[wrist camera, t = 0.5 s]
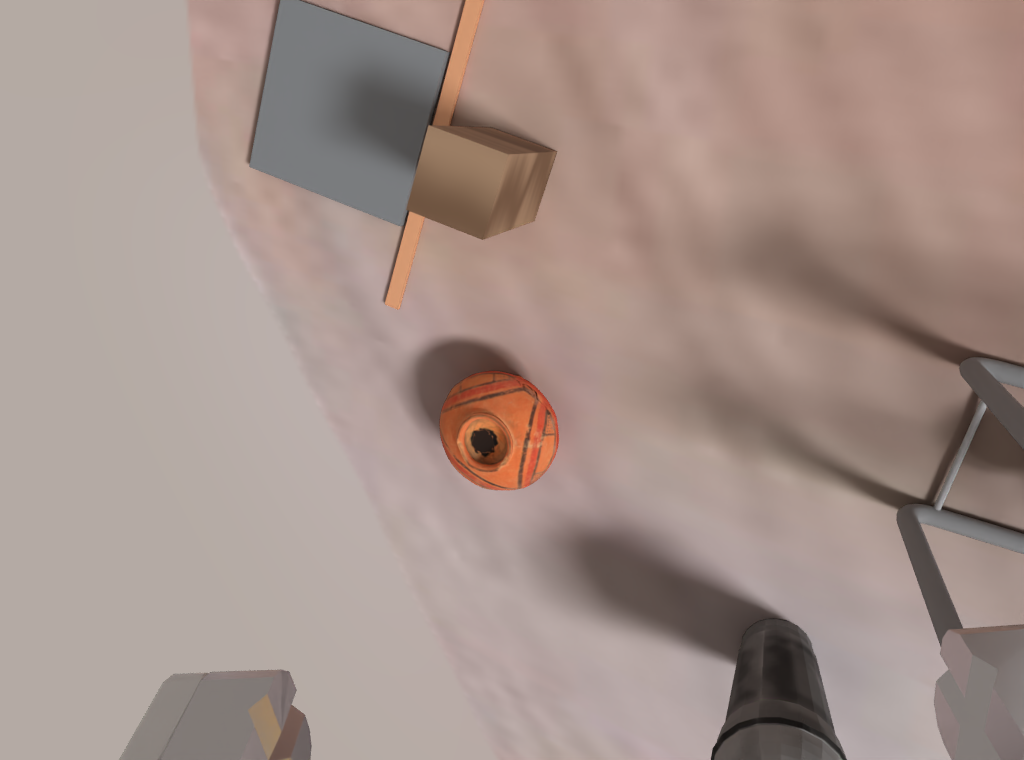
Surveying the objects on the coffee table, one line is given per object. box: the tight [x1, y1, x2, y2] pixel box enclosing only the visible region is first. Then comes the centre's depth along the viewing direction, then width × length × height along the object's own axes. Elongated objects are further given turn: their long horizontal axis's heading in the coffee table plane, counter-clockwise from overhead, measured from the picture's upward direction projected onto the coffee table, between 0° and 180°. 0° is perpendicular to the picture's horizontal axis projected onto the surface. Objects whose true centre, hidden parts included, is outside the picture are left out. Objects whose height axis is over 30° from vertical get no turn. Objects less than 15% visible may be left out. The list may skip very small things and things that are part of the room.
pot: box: [439, 371, 559, 490], centre depth 51 cm, size 8×8×7 cm
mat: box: [249, 0, 450, 226], centre depth 51 cm, size 11×12×1 cm
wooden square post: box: [406, 125, 557, 240], centre depth 44 cm, size 4×4×10 cm
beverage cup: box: [711, 619, 847, 760], centre depth 44 cm, size 7×7×20 cm
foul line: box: [385, 0, 484, 310], centre depth 50 cm, size 22×1×1 cm, turn 162°
